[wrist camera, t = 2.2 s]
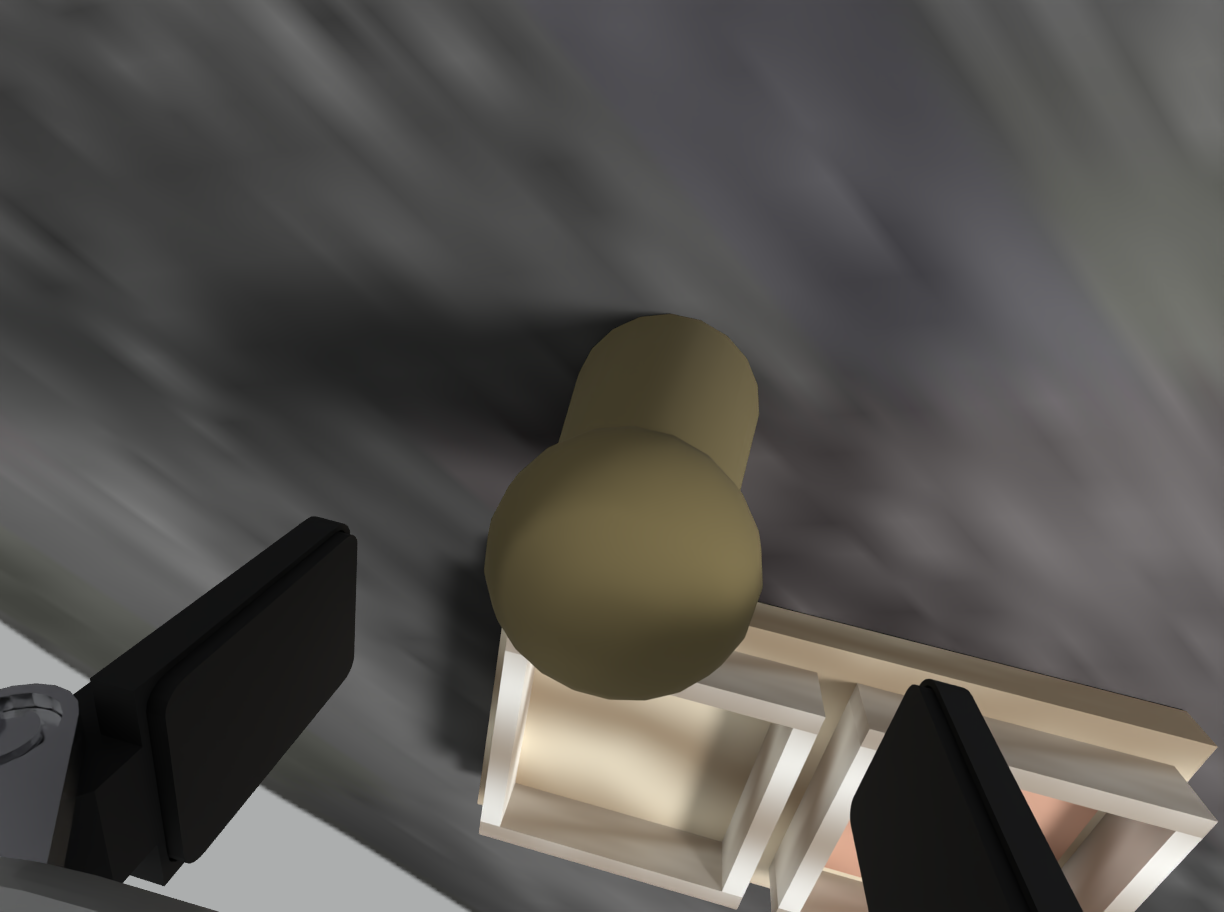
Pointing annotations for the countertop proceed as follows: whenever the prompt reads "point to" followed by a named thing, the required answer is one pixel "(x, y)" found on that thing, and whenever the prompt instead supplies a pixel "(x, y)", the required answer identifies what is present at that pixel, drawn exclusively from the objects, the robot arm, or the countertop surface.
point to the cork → (636, 519)
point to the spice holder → (824, 768)
